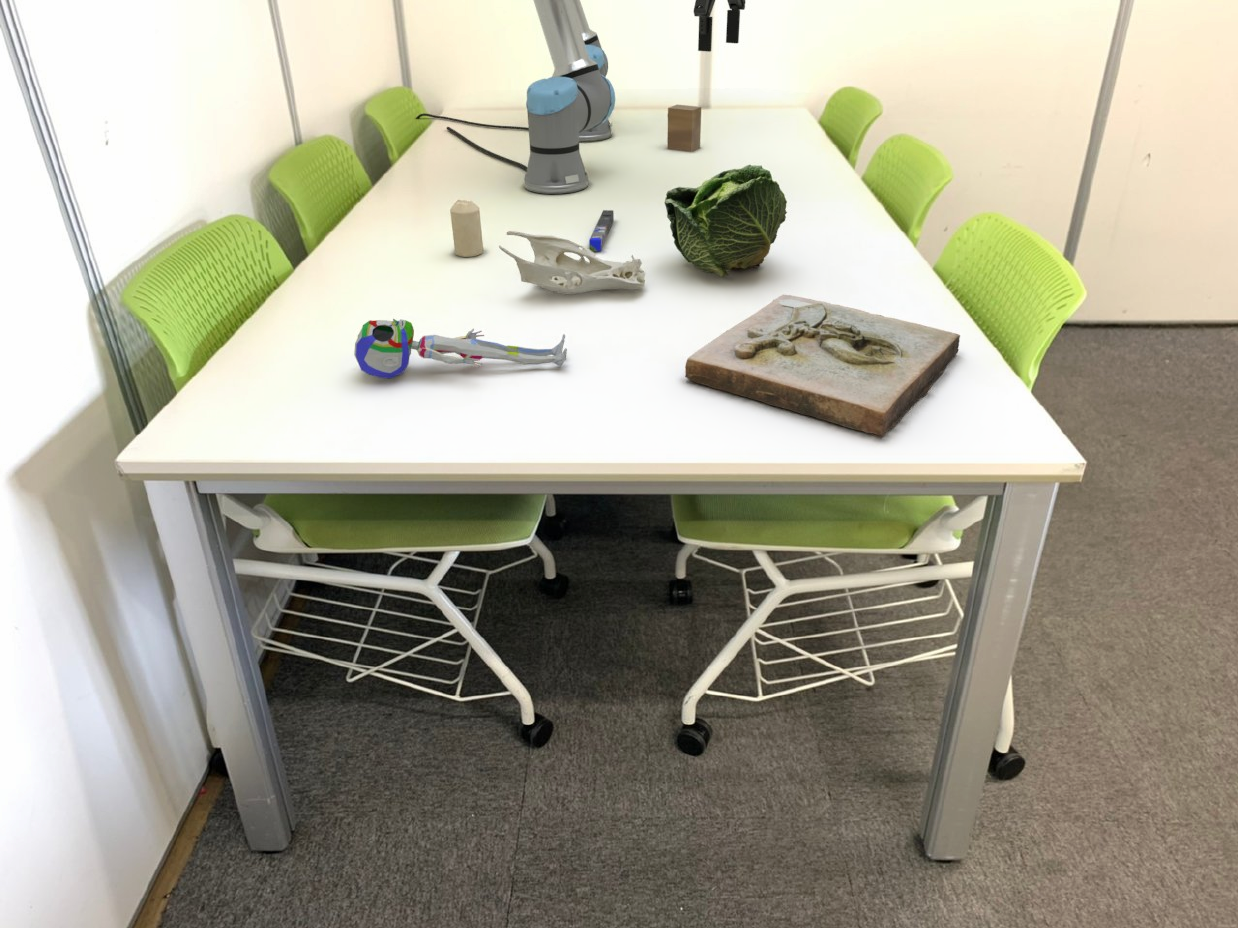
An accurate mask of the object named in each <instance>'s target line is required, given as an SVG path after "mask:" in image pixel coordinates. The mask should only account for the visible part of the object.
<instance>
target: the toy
mask: <svg viewBox="0 0 1238 928" xmlns="http://www.w3.org/2000/svg"><path fill="white" fill-rule="evenodd" d="M474 331H475V328H472V329H471V330H469V331H468V332H467V333H466V334H465V335H463V336H458V337H449V336H448V337H447V336H442V335H439V334H428V335H423V336H421V338H420V339H419V341H417V340H414V336H415V329H414V326H413V324H412V322H410V321H408V320H407V319H399V320H397V319H395V318H392V320H387V319H379V320H368V321H367V322H365V323H364V324H362V326H361V329H360V331H359V333H358V334H357V338H356V340H355V342H354V354H353V355H354V357H355V359H356V362H357V364H358V366H359V369H360V370H361V372H364V373H366V374H367V375H370V376H373V377H377V378H382V379H383V378H384V379H392V378H394V377H396V376H398V375H400V374H401V375H402V374H403V372H404V371H405V370H406V368H407V367H408V366H409V364H410V357H411V355H412V350H415V351H417V353H418V356H419V357H421V358H422V359H430V360H434V361H438V362H442V363H444V364H449V365H458V364H459V365H461V364H465V365H471V366H477V367H479V368H480V367H481V366H482V365H483V363H482V362H478V361H480V360H482V359H487V360H488V359H489V360H503V361H509V362H514V363H517V364H520V365H528V366H529V365H542V364H550V363H553V364H555V365H557V366H559V367H562V366H563V364H564V362H565V361H566V360H567V357H568V355H567V353H568V348H566V347H565V348H564V345H565V340H566V334H565V333H563V334H562V338H561V340H560V341H559V343H558V344H556V345H555V346H554V347H552V348H533V347H532V348H531V347H523V346H518V345H517V346H516V345H504V344H501V343H498V342H494V341H488V340H482V339H478V338H479V337H480V338H481V337H485V334H480V333H482V332H483V331H482V330H479V331H476V332H474ZM563 349H564V350H563ZM453 353H455V354H457V355H459V357H458V356H455V355H448V354H453ZM445 354H447V355H445Z"/></svg>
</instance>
